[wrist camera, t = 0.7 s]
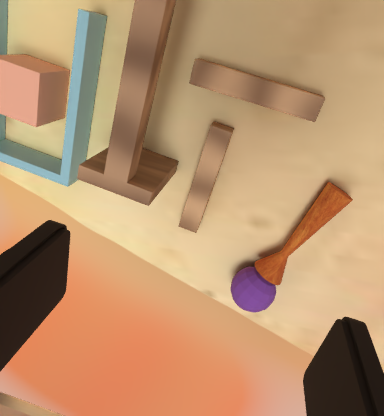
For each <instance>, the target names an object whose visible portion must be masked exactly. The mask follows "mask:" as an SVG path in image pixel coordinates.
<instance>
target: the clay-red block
mask: <svg viewBox="0 0 384 416" xmlns="http://www.w3.org/2000/svg"><path fill="white" fill-rule="evenodd" d="M69 75H70V70H68V69H65V68H62V67H59V66H57V65H54V64H51V63H48V62H45V61H43V60H40V59H37V58H34V57H31V56H29V55H26V54H19V55H0V114H2V115H5V116H8V117H10V118H13V119H16V120H19V121H21V122H24V123H27V124H29V125H32V126H35V127H38V126H41V125H44V124H47V123H50V122H53V121H56V120H60V119H63V118H65V112H66V103H67V93H68V84H69Z"/></svg>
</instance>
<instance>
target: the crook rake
mask: <svg viewBox="0 0 384 416" xmlns="http://www.w3.org/2000/svg"><path fill="white" fill-rule="evenodd" d="M175 3H176V0H135V3H134V9H133V14H132V20H131V26H130V31H129V37H128V42H127V48H126V54H125V59H124V65H123V70H122V76H121V82H120V87H119V93H118V98H117V104H116V109H115V115H114V121H113V126H112V132H111V137H110V143H109V147H108V148H107V149H105V150H103V151H102V152H100V153H98V154H97V155H95V156H93V157H91V158H90V159H88V160H86V161H85V162H83V163H81V164H80V165H79V168H78V176H77V179H79V180H82V181H84V182H87V183H90V184H92V185H95V186H97V187H100V188H103V189H105V190H108V191H111V192H113V193H116V194H119V195H121V196H124V197H126V198H129V199H132V200H134V201H137V202H140V203H142V204H145V205H148V206H149V205H150V204H151V202H152V201H153V200H154V199H155V197H156V196H157V195H158V194H159V192H160V191H161V190H162V189H163V187H164V186H165V185H166V184H167V182H168V181H169V180H170V179H171V177H172V176H173V175H174V173H175V172H176V169H177V165H178V162H179V161H177V160H174V159H171V158H169V157H166V156H163V155H160V154H158V153H155V152H152V151H150V150H147V149H144V148H142V146H143V142H144V137H145V133H146V129H147V124H148V120H149V116H150V111H151V107H152V103H153V98H154V94H155V90H156V85H157V81H158V77H159V72H160V68H161V64H162V59H163V55H164V51H165V46H166V42H167V38H168V33H169V29H170V25H171V20H172V16H173V12H174V7H175Z"/></svg>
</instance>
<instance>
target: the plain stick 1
mask: <svg viewBox="0 0 384 416" xmlns="http://www.w3.org/2000/svg"><path fill="white" fill-rule="evenodd" d="M233 130H234V129H233V128H230V127H227V126H225V125H222V124H219V123H216V122H213V124H212V125H211V127H210V130H209V133H208V136H207V139H206V142H205V145H204V149H203V152H202V155H201V158H200V161H199V164H198V167H197V170H196V173H195V177H194V180H193V183H192V186H191V189H190V192H189V195H188V198H187V201H186V205H185V208H184V211H183V214H182V217H181V220H180V223H179V227H182V228H184V229H187V230H190V231H192V232H195V233H196V232H197V230H198V227H199V225H200V222H201V220H202V217H203V214H204V211H205V208H206V206H207V203H208V200H209V197H210V194H211V192H212V189H213V186H214V183H215V180H216V178H217V175H218V172H219V169H220V166H221V164H222V161H223V158H224V155H225V152H226V150H227V147H228V144H229V141H230V138H231V136H232V133H233Z"/></svg>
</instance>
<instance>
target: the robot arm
mask: <svg viewBox="0 0 384 416" xmlns="http://www.w3.org/2000/svg"><path fill="white" fill-rule="evenodd" d="M69 244H70V231H69V230H67V228H66V226H65V225H64V224H61V223H58V222H55V221H52V220H48V221H46V222H45V223H43V224H42V225H41V226H39V227H38V228H37V229H35V230H34V231H33V232H31V233H30V234H29V235H27V236H26V237H25V238H23V239H22V240H21V241H19V242H18V243H17V244H15V245H14V246H13V247H11V248H10V249H8V250H6V251H5V252H3V253H2V254H1V255H0V371H1V370H2V369H3V368H4V367H5V365H6V364H7V363H8V362H9V361H10V360H11V358H12V357H13V356H14V355H15V354H16V352H17V351H18V350H19V349H20V348H21V346H22V345H23V344H24V343H25V342H26V341H27V339H28V338H29V337H30V336H31V335H32V333H33V332H34V331H35V330H36V329H37V328H38V326H39V325H40V324H41V323H42V322H43V320H44V319H45V318H46V317H47V316H48V315H49V313H50V312H51V311H52V310H53V309H54V308H55V306H56V305H57V304H58V303H59V301H60V300H61V299H62V298H63V296H64V294H65V291H66V283H67V271H68V258H69ZM303 385H304V394H305V402H306V413H307V416H384V373H383V370H382V367H381V365H380V362H379V359H378V356H377V354H376V351H375V348H374V345H373V343H372V340H371V337H370V334H369V332H368V329H367V326H366V324H365V323H364V322H361V321H358V320H355V319H352V318H349V317H344V318H343V319H342V320H341V319H337V320H336V321H335V323H334V325H333V326H332V328H331V330H330V331H329V333H328V335H327V336H326V338H325V339H324V341H323V343H322V344H321V346H320V348H319V349H318V351H317V353H316V354H315V356H314V358H313V359H312V361H311V363H310V364H309V366H308V368H307V369H306V371H305V374H304V379H303ZM0 416H64V415H61V414H59V413H56V412H53V411H51V410H48V409H45V408H43V407H40V406H37V405H35V404H32V403H29V402H26V401H24V400H21V399H18V398H16V397H13V396H10V395H7V394H4V393H1V392H0Z"/></svg>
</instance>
